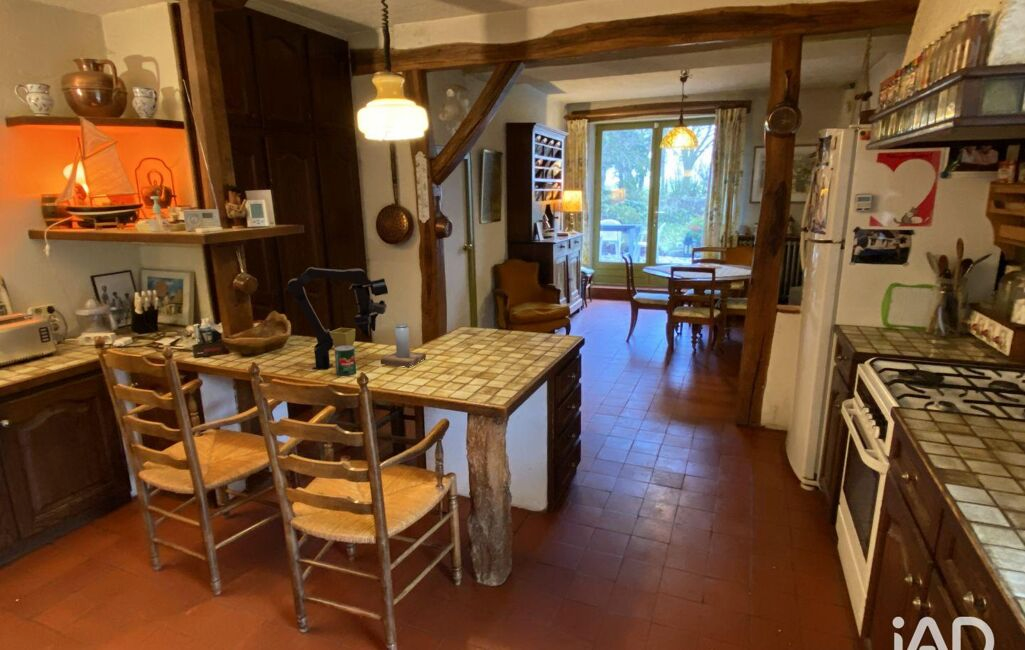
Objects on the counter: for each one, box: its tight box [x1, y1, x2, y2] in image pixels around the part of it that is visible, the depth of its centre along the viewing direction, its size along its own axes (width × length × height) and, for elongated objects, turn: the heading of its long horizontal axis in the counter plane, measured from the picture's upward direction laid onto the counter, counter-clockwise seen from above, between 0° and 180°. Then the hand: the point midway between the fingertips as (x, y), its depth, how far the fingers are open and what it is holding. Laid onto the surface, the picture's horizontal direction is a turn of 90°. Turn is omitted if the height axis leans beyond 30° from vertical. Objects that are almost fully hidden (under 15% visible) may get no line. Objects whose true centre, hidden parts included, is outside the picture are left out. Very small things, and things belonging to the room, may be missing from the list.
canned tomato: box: [333, 345, 357, 377], centre depth 230 cm, size 8×8×11 cm
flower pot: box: [330, 327, 356, 348], centre depth 268 cm, size 9×9×9 cm
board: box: [380, 351, 427, 368], centre depth 247 cm, size 14×14×3 cm
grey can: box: [394, 323, 411, 358], centre depth 245 cm, size 6×6×14 cm
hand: (371, 333), depth 243 cm, fingers open, 9 cm apart
